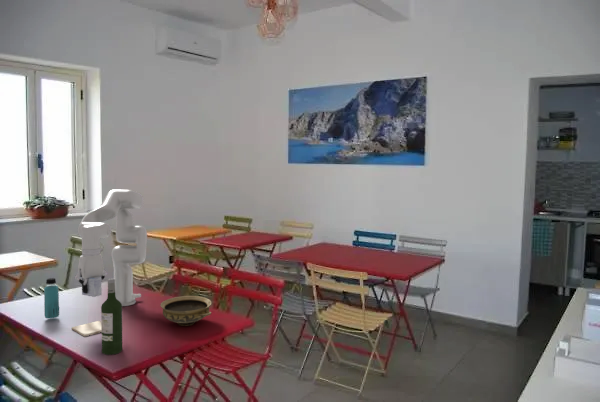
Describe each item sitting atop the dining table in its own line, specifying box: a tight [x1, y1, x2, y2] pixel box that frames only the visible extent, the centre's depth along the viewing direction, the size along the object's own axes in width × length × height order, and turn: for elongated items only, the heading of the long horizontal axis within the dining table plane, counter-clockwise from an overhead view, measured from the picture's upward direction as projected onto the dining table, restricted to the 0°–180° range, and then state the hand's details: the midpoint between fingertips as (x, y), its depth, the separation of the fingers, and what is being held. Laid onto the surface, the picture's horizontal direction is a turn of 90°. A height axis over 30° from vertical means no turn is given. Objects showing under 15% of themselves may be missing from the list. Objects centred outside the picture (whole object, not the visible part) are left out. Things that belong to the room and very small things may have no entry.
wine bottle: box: [100, 277, 123, 356], centre depth 195 cm, size 8×8×30 cm
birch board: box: [71, 320, 102, 338], centre depth 221 cm, size 13×13×1 cm
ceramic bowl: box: [159, 295, 212, 327], centre depth 232 cm, size 30×24×10 cm
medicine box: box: [81, 276, 103, 298], centre depth 219 cm, size 8×4×9 cm, turn 64°
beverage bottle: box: [43, 277, 60, 319], centre depth 233 cm, size 6×7×20 cm
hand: (91, 291), depth 220 cm, fingers closed on medicine box, 5 cm apart
